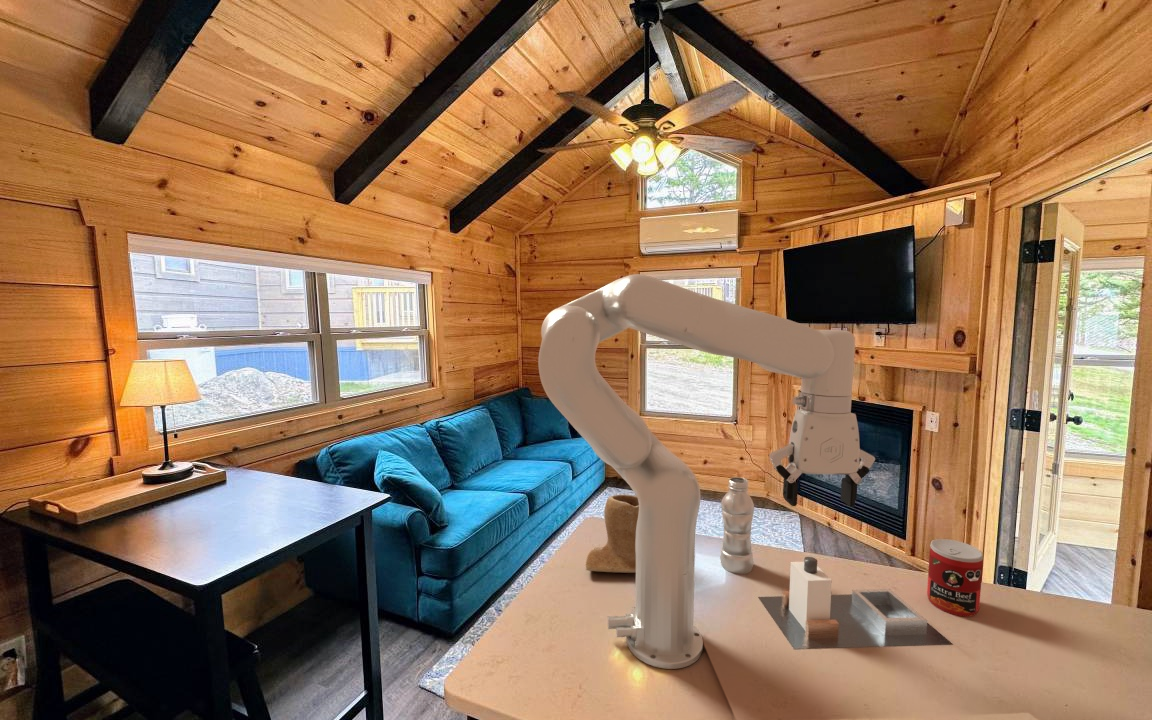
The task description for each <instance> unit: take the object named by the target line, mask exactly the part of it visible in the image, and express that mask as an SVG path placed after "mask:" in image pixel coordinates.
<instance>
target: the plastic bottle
mask: <svg viewBox="0 0 1152 720" xmlns="http://www.w3.org/2000/svg"><path fill="white" fill-rule="evenodd" d="M727 487H728V489H729V490H728V491H727V492H726V493H725V495H724V496H723V497H722V499H721V503H720V506H721V514H722V519H723V520H722V521H723V522H722V523H723V524H722V525H723V538H722V547H721V550H720V556H719V557H720V558H719V559H720V564H721V567H722V569H724V570H725V571H727V572H730V573H733V574H738V575H744V574H749V573H750V572H752V571H753V567H754V555H753V552H752V539H751V537H752V536H751V535H752V523H753V517H754V511H755V504H754V500H753V499H752V498H751V496H750V494H749V493H748V490H749V481H748V479H747V478H744V477H737V476H734V477H730V478H729V480H728V486H727Z"/></svg>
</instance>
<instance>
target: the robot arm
mask: <svg viewBox="0 0 1152 720" xmlns="http://www.w3.org/2000/svg"><path fill="white" fill-rule="evenodd" d="M540 329H541V330H540V335H541V343H540V347H539V353H538V363H537V365H538V373H539V378H540V382H541V385H542V387H543V390H544V393H546V396H547V398H548V399H549V400H550V402H551V403H552V405H554V407H555V408H556V410H557V411H559V413H560V414H561V415H562V416H563V417H564V418H565V419H566V420H567V422H568V423H569V424H570V425H571V426H572V427H573V428H574V429H575V431H577V433H578V434H579V435H580V436H581V437H582V438H583V439H584V440H585V441H586V442H587V444H588V445H589V446H590V447H591V449H592V450H593V452H594V453H595V455H596V456H597V457H598V458H599V459H600V460H601V461H602V462H604V463H605V464H607V465H609V466H610V467H611V468H612V469H613V470H615V471H616V473H617V474H618V475H619V476H620V477H621V478H622V479H623V480H624V481H625V483H627V484H628V485H629V487H630V489H631V490H632V492H633V493H634V496H637V498H638V502H639V514H638V520H637V526H636V538H635V552H636V573H635V590H634V591H635V593H634V594H635V601H634V602H635V604H634V605H635V606H631V607H630V608H631V613H625V616H623V615H622V616H619V615H611V616H610V615H608V616H607V619H606V620H607V630H616V631H615V634H616V638H625V640H626V641H625V642H626V645H627V648H628V649H629V651H630V652H631V654H633V656H634V657H635V658H637V659H638V660H640V661H641V662H643V663H645V664H647V665H650V666H652V667H654V668H659V669H665V670H667V669H668V670H673V669H674V670H677V669H682V668H685V667H688V666H691V665H692V664H694V663H696V662H697V661H698V660H699V659H700V658H701V655H702V654H703V649H704V642H703V640H704V639H703V637H702V634H701V632H700V631H699V629H698V628H697V627H696V626H695V624H694V622H695V621H694V619H695V618H694V617H695V567H696V566H695V565H696V564H695V563H696V562H695V561H696V559H695V558H696V555H695V553H696V552H695V550H696V549H695V548H696V547H695V546H696V530H697V522H698V521H697V520H698V516H699V510H700V506H701V488H700V483H699V482H698V478H697V477H696V475H695V473H694V472H693V471H692V469H691V468H690V467H689V466H688V465H687V464H686V463H685V462H684V461H682V460H681V458H679V457H678V456H677V455H676V454H674V453H673V452H672V451H671V450H670V449H668V448H667V447H666V446H665V445H664V444H663V443H662V442H661V441H660V439H658V437H657V436H656V435H655V434H654V433H653V432H652V431H651V430H650V429H649V427H648V425H647V424H646V422H645V420H644V419H643V418H642V416H641V415H640V414H638V412H637V411H635V410H634V409H633V408H632V407H630V406H629V405H628V404H627V403H626V402H625V401H624V400H623V399H622V398H621V397H620V396H619V394H618V393H617V392H616V391H615V390H614V389H613V387H611V385H610V384H609V383H608V381H606V379H605V378H604V377H603V376H602V375H601V373H600V372H599V369H598V367H597V363H596V353H597V352H596V351H597V349H598V346H599V343H602V342H603V341H605V340H608V339H609V338H612V337H614V336H616V335H618V334H620V333H621V332H623V331H626V330H627V329H631V330H635V331H637V332H641V333H643V334H646V335H649V336H650V335H651V336H652V337H656V338H659V339H663V340H666V341H669V342H671V343H674V344H678V345H681V346H685V347H687V348H691V349H693V350H695V351H700V352H704V353H707V354H711V355H716V356H721V357H722V356H723V357H730V358H733V359H734V358H735V359H740V360H744V361H747V362H751V363H753V364H757V366H759V367H760V368H761V369H763V370H765V371H768V372H770V373H776V374H779V375H780V374H781V375H786V376H789V377H795V378H798V379H800V380H801V382H800V383H801V384H800V391H799V395H797V396H793V397H792V405H794V406H795V405H796V406H798V408H799V409H796V410H795V413H794V415H793V420H792V424H791V427H790V434H789V440H788V444H787V445H784V446H783V447H781V448H779V449H777V450H775V451H774V450H773V451H772V452H771V453H769V455H768V458H769V460H770V462H771V464H772V466H773V469H774V470H775V471H776V472H777V473H778V474H779V475H780V477H782V479H783V485H782V496H783V498H784V500H785V501H786V502H787V503H788V504H789V505H790V506H791V507H796V506H797V505H798V493H799V490H798V489H799V484H798V483H797V482H796V480H797V479H798V478H799V477H800V476H801V475H802V474H806V475H838V476H839V475H843V476H844V477H841V478H842V479H841V482H840V485H841V486H840V501H841V502H842V503H844V504H845V505H847V506H849V507H852V508H855V506H856V501H857V497H858V484H861V483H862V480H863V478H864V477H866V476H867V474H869V472H870V468H871V467H872V466H873V464H874V462H875V461H876V457H875V456H874V455H872V454H871V453H868V452H866V451H864V450H863V449H861V448H860V446H861V445H860V432H859V426H858V420H857V415H856V414H857V413H853V412H851V411H852V400H853V399H852V398H853V395H852V394H853V382H854V369H855V368H854V365H855V353H856V352H855V350H856V338H855V335H854V334H853V332H852V331H848V330H845V329H843V330H841V329H816V328H814V327H811V326H808V325H805V324H802V323H799V322H796V321H793V320H791V319H787V318H784V317H781V316H778V315H774V314H771V313H767V312H765V311H760V310H757V309H752V308H748V307H746V306H745V307H744V306H743V305H739V304H737V303H732V302H729V301H726V300H721V299H717V298H714V297H711V296H708V295H705V294H703V293H699V292H697V291H693V290H691V289H688V288H686V287H682V286H679V285H676V284H674V283H670V282H668V281H664V280H662V279H659V278H656V277H653V276H649V275H646V274H641V273H636V274H635V273H634V274H629V275H626V276H623V277H620V278H618V279H616V280H614V281H612V282H609V283H608V284H605V286H602V287H600V288H598V289H596V290H594V291H592V292H590V293H588V294H585V295H583V296H581V297H579V298H577V299H575V300H572V301H571V302H570V301H569V302H568V303H565V304H564V305H561V306H559V307H556V308H555V309H553V310H551V311H550V312H549V313H548V314H547V315H546V317H545V318H544V320H543V322H542V325H541V328H540ZM785 458H787V460H788V464H787V466H786V467H785V466H783V462H782V461H783V459H785Z"/></svg>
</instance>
